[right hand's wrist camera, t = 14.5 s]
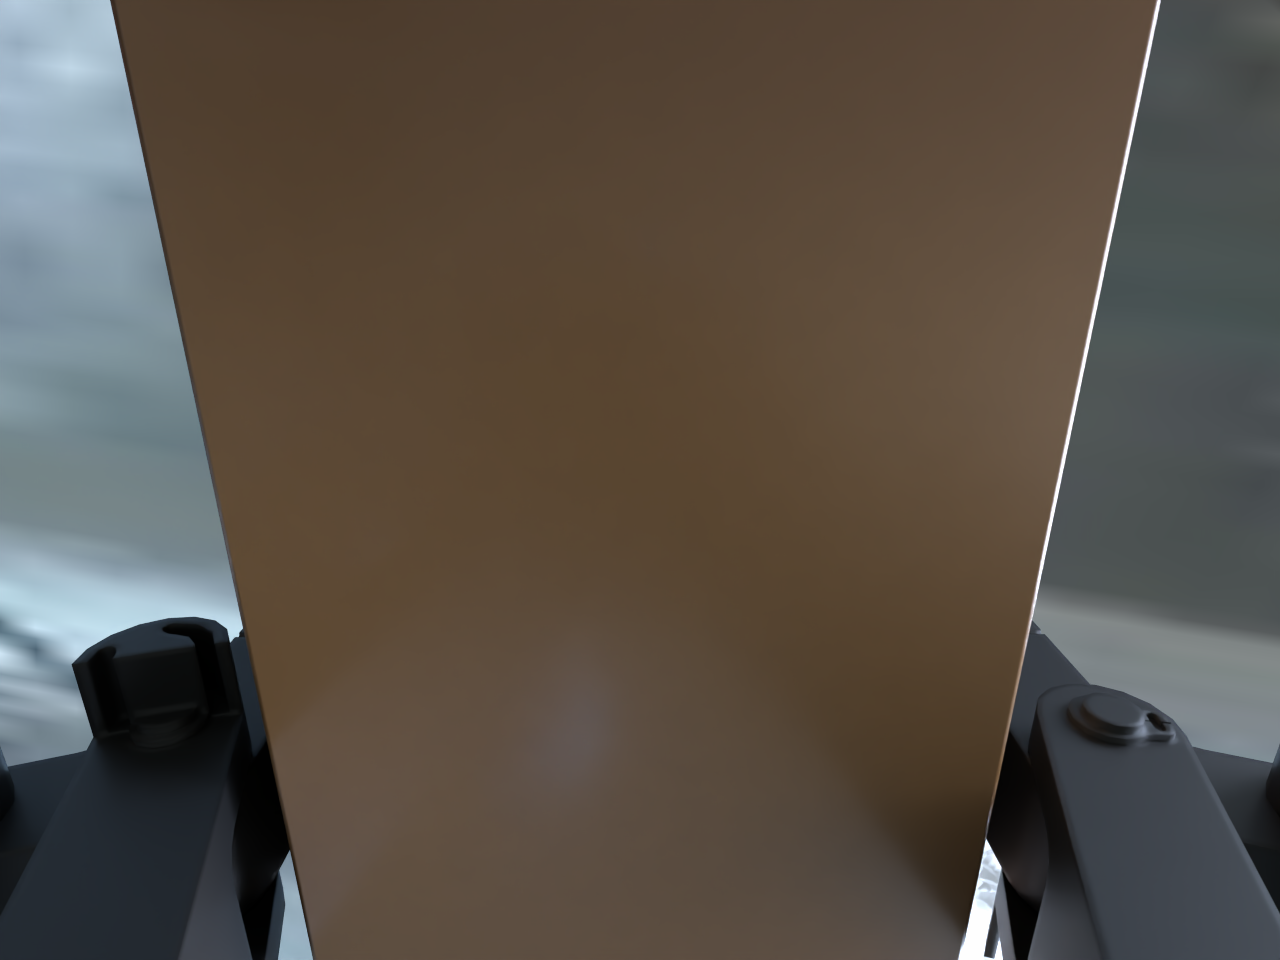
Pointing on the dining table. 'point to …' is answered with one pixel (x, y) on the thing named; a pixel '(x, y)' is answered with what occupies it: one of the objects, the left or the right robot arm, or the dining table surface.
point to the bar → (636, 442)
